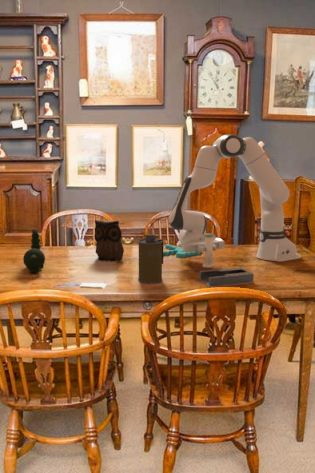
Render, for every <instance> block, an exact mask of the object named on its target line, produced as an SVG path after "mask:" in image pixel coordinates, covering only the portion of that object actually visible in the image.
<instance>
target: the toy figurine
mask: <svg viewBox="0 0 315 473" xmlns="http://www.w3.org/2000/svg"><path fill="white" fill-rule="evenodd" d="M31 232H32V233H31V240H30V242H31V245H30V249H27V251H26V252H25V253H24V255H23V258H22V259H23V264H24V266H25V267H26V269H27V270H29V273H31V274H32V275H35V274H38V273H39V272H40V269H41V270H42V269H44V267H45V266H44V264H45V262H46V256H45V253H44V252H43V251H42V250H41V248H42V245H41V244H40V242H41V239H40V238H39V237H40V234H39V233H38V229H37V228H33V229H32V230H31Z"/></svg>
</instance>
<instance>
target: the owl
mask: <svg viewBox="0 0 315 473" xmlns="http://www.w3.org/2000/svg"><path fill="white" fill-rule="evenodd" d="M119 223H120V221H119V220H105V219H104V220H97V219H94V224H95V227H94V240H95V243H96V245H95V254H96V255H97V260H98V261H100V262H110V263H111V262H123V258H124V252H125V249H124V245H123V242H122V238H123V236H122V235H123V234H122V229H121V228H120V227H121V226H120V224H119Z"/></svg>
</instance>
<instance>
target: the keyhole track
mask: <svg viewBox="0 0 315 473" xmlns="http://www.w3.org/2000/svg"><path fill="white" fill-rule="evenodd" d="M198 280H199V281H201V282H202V283H203V284H205V285H206V286H208V287H209V288H210V287H212V288H218V287H217V286H222V287H229V286H239V285H240V286H241V285H247V284H248V285H249V284H254V283H255V282H254V273H253V272H250V271H249V270H247V269H245V268H244V267H241V266H239V267H233V268H232V267H231V268H221V269H209V270H208V269H207V270H200V271H199V279H198Z"/></svg>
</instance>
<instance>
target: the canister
mask: <svg viewBox="0 0 315 473" xmlns="http://www.w3.org/2000/svg"><path fill="white" fill-rule="evenodd" d="M143 237H144V238H141V239H139V240H137V243H138V278H137V281H139V282H140V283H142V284H143V283H144V284H150V283H152V284H159V283H162V281H163V265H164V256H163V252H164V239H163V238H157V237H156V235H155V234H153V233H148V234H144V235H143Z"/></svg>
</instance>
